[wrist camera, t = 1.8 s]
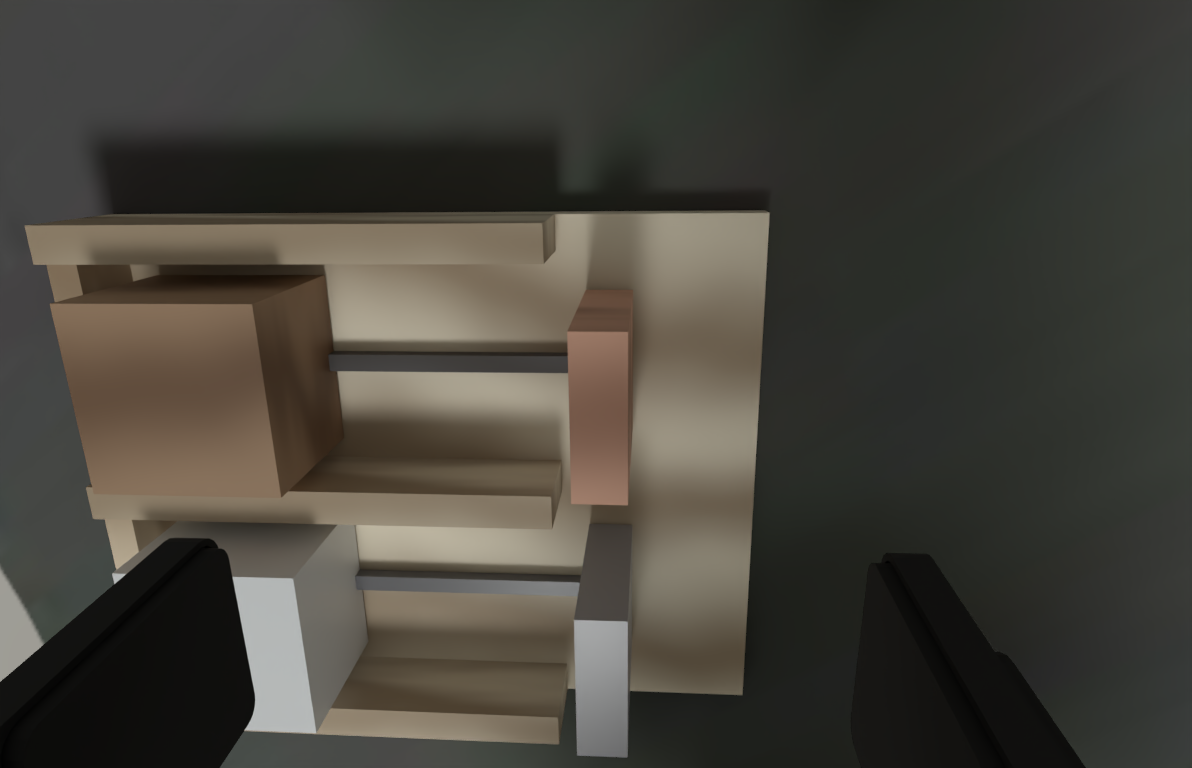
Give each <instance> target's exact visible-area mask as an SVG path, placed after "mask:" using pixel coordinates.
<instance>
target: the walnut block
mask: <svg viewBox="0 0 1192 768" xmlns="http://www.w3.org/2000/svg"><path fill="white" fill-rule="evenodd" d="M50 307H51V311H52V316H53V320H54V324H55V329H56V333H57V337H58V342H59V346H60V350H61V355H62V359H63V363H64V368H65V372H66V376H67V381H68V385H69V389H70V394H71V398H72V402H73V407H74V411H75V415H76V419H77V424H78V428H79V432H80V437H81V441H82V445H83V450H84V454H85V458H86V463H87V467H88V471H89V476H90V480H91V484H92V489H93V493H94V494H109V495H157V496H205V497H253V498H282V497H283V496H284V495H285V494H286V493H287V492H288V491H289V490H290V489H291V488H292V487H293V486H294V485H295V484H296V483H297V482H298V481H299V480H301V479H302V478H303V477H304V476H305V475H306V474H307V473H308V472H309V471H310V470H311V469H312V468H313V467H314V466H315V465H316V464H317V463H318V462H319V461H320V460H321V459H322V458H323V457H324V456H326V455H327V454H328V453H329V452H330V451H331V450H332V449H333V448H334V447H335V446H336V445H337V444H338V443H339V442H340V441H341V440H342V439H343V438H344V432H343V424H342V416H341V407H340V399H339V391H338V382H337V374H336V371H368V372H481V373H568V386H569V429H570V471H571V504H588V505H628V497H629V481H630V465H631V449H632V433H633V290H585V293H584V295H583V297H582V299H581V302H580V304H579V306H578V308H577V311H576V313H575V315H574V317H573V320H572V322H571V324H570V326H569V329H568V331H567V343H568V353H559V352H417V351H334V349H333V340H332V332H331V324H330V315H329V307H328V298H327V290H326V282H325V275H156V276H152V277H148V278H144V279H141V280H137V281H133V282H129V283H126V284H122V285H118V286H114V287H111V288H107V289H103V290H99V291H96V292H92V293H88V294H84V295H81V296H77V297H73V298H69V299H66V300H62V301H58V302H54V303H50Z"/></svg>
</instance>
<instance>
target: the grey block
mask: <svg viewBox="0 0 1192 768" xmlns="http://www.w3.org/2000/svg"><path fill="white" fill-rule="evenodd" d="M169 538H210V539H212V540H214V541H215V543H216V544H217V545H218V548H222V549H224V550H225V551H226V552H227V554H228V557H229V561H230V566H231V572H232V577H233V582H234V587H235V593H236V598H237V603H238V608H239V614H240V619H241V624H242V629H243V635H244V640H245V645H246V650H247V656H248V661H249V666H250V671H251V677H252V682H253V687H254V692H255V708H254V712H253V715H252V718H251V720H250V722H249V724H248V726H247V727H246V729H245V730H252V731H276V732H299V733H317V731H318V730H319V728H320V726H321V724H322V723H323V721H324V719H325V717H326V715H327V714H328V712H329V710H330V708H331V707H332V705H333V703H334V701H335V700H336V698H337V696H338V694H339V693H340V691H341V689H342V687H343V685H344V684H345V682H346V680H347V678H348V677H349V675H350V673H351V671H352V670H353V668H354V666H355V664H356V663H357V661H358V659H359V657H360V655H361V654H362V652H363V650H364V648H365V647H366V645H367V643H368V634H367V625H366V617H365V608H364V600H363V592H362V590H376V591H410V592H445V593H479V594H513V595H547V596H578V598H577V604H576V610H575V617H574V643H575V686H576V729H577V755H578V756H601V757H624V758H628V733H629V707H630V680H631V653H632V525H621V524H589V530H588V536H587V542H586V548H585V554H584V561H583V567H582V573H581V575H550V574H513V573H476V572H440V571H403V570H366V569H360V567H359V558H358V550H357V541H356V533H355V525H333V524H290V523H247V522H204V521H177V522H176V523H175V524H173V525H172V526H171V527H170V528H168V529H167V530H166V531H165V532H163V533H162V534H161V535H160V536H158V537H157V538H156V539H155V540H153V541H152V542H151V543H150V544H148V545H147V546H146V547H145V548H143V549H142V550H141V551H140V552H138V553H137V554H136V555H135V556H133V557H132V558H131V559H130V560H128V561H127V562H126V563H125V564H123V565H122V566H121V567H120V568H118V569H117V570H116V571H115V572H113V573H112V575H113V579H114V584H115V583H116V582H118V581H119V580H120V579H121V578H122V577H123V576H125V575H126V574H127V573H128V572H129V571H130V570H132V569H133V568H134V567H135V566H136V565H137V564H139V563H140V562H141V561H142V560H143V559H144V558H146V557H147V556H148V555H149V554H150V553H151V552H153V551H154V550H155V549H156V548H157V547H158V546H160V545H161V544H162V543H163V542H164V541H166V540H168V539H169Z"/></svg>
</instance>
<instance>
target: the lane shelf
mask: <svg viewBox="0 0 1192 768" xmlns="http://www.w3.org/2000/svg"><path fill="white" fill-rule="evenodd" d="M769 216H770V213H769V212H767V211H766V210H731V211H560V212H388V213H216V214H109V215H102V216H94V217H86V218H79V219H71V220H64V221H56V222H48V223H41V224H33V225H25V229H26V234H27V238H28V242H29V247H30V251H31V255H32V259H33V264H34V265H47V269H48V274H49V278H50V282H51V287H52V291H53V295H54V300H55V302H58V301H62V300H66V299H69V298H73V297H77V296H81V295H84V294H88V293H92V292H96V291H99V290H103V289H107V288H111V287H114V286H118V285H122V284H126V283H129V282H133V281H137V280H141V279H144V278H148V277H152V276H156V275H325V282H326V290H327V298H328V307H329V315H330V324H331V332H332V340H333V349H334V351H417V352H559V353H568V343H567V331H568V329H569V326H570V324H571V322H572V320H573V317H574V315H575V313H576V311H577V308H578V306H579V304H580V302H581V299H582V297H583V295H584V293H585V290H633V433H632V449H631V465H630V481H629V497H628V505H588V504H571V471H570V429H569V386H568V373H481V372H368V371H336V374H337V382H338V391H339V399H340V407H341V416H342V424H343V432H344V438H343V439H342V440H341V441H340V442H339V443H338V444H337V445H336V446H335V447H334V448H333V449H332V450H331V451H330V452H329V453H328V454H327V455H326V456H324V457H323V458H322V459H321V460H320V461H319V462H318V463H317V464H316V465H315V466H314V467H313V468H312V469H311V470H310V471H309V472H308V473H307V474H306V475H305V476H304V477H303V478H302V479H301V480H299V481H298V482H297V483H296V484H295V485H294V486H293V487H292V488H291V489H290V490H289V491H288V492H287V493H286V494H285V495H284V496H283V497H282V498H253V497H205V496H157V495H109V494H94V493H93V489H92V484H91V485H89V486H87V487H86V490H87V494H88V498H89V503H90V507H91V511H92V516H93V519H105V522H106V527H107V531H108V535H109V540H110V544H111V548H112V553H113V557H114V562H115V566H116V570H117V569H118V568H120V567H121V566H122V565H123V564H125V563H126V562H127V561H128V560H130V559H131V558H132V557H133V556H135V555H136V554H137V553H138V552H140V551H141V550H142V549H143V548H145V547H146V546H147V545H148V544H150V543H151V542H152V541H153V540H155V539H156V538H157V537H158V536H160V535H161V534H162V533H163V532H165V531H166V530H167V529H168V528H170V527H171V526H172V525H173V524H175V523H176V522H177V521H204V522H247V523H290V524H333V525H355V533H356V541H357V550H358V558H359V567H360V569H366V570H403V571H440V572H476V573H513V574H550V575H581V573H582V567H583V561H584V554H585V548H586V542H587V536H588V530H589V524H621V525H632V653H631V680H630V691H646V692H672V693H699V694H726V695H743V677H744V659H745V641H746V624H747V606H748V588H749V570H750V553H751V535H752V517H753V500H754V482H755V464H756V446H757V429H758V411H759V393H760V375H761V358H762V340H763V322H764V304H765V287H766V269H767V251H768V234H769ZM362 592H363V600H364V608H365V617H366V625H367V634H368V643H367V645H366V647H365V648H364V650H363V652H362V654H361V655H360V657H359V659H358V661H357V663H356V664H355V666H354V668H353V670H352V671H351V673H350V675H349V677H348V678H347V680H346V682H345V684H344V685H343V687H342V689H341V691H340V693H339V694H338V696H337V698H336V700H335V701H334V703H333V705H332V707H331V708H330V710H329V712H328V714H327V715H326V717H325V719H324V721H323V723H322V724H321V726H320V728H319V730H318V731H317V733H304V734H327V735H351V736H374V737H397V738H421V739H444V740H468V741H491V742H515V743H538V744H559V741H560V735H561V728H562V722H563V715H564V709H565V702H566V695H567V689H576V686H575V643H574V617H575V610H576V604H577V598H578V596H547V595H513V594H479V593H445V592H410V591H376V590H362ZM244 731H252V730H244ZM257 732H276V731H257ZM280 733H299V732H280Z"/></svg>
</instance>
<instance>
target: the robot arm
mask: <svg viewBox="0 0 1192 768" xmlns="http://www.w3.org/2000/svg"><path fill="white" fill-rule="evenodd" d="M254 708H255V692H254V687H253V682H252V677H251V671H250V666H249V661H248V656H247V650H246V645H245V640H244V635H243V629H242V624H241V619H240V614H239V608H238V603H237V598H236V593H235V587H234V582H233V577H232V572H231V566H230V561H229V557H228V554H227V552H226V551H225V550H224V549H222V548H218V545H217V544H216V543H215V541H214V540H212V539H210V538H169V539H168V540H166V541H164V542H163V543H162V544H161V545H160V546H158V547H157V548H156V549H155V550H154V551H153V552H151V553H150V554H149V555H148V556H147V557H146V558H144V559H143V560H142V561H141V562H140V563H139V564H137V565H136V566H135V567H134V568H133V569H132V570H130V571H129V572H128V573H127V574H126V575H125V576H123V577H122V578H121V579H120V580H119V581H118V582H116V583H115V584H114V585H113V586H112V587H111V588H109V589H108V590H107V591H106V592H105V593H104V594H102V595H101V596H100V597H99V598H98V599H97V600H95V601H94V602H93V603H92V604H91V605H90V606H88V607H87V608H86V609H85V610H84V611H83V612H81V613H80V614H79V615H78V616H77V617H76V618H74V619H73V620H72V621H71V622H70V623H69V624H67V625H66V626H65V627H64V628H63V629H62V630H60V631H59V632H58V633H57V634H56V635H55V636H53V637H52V638H51V639H50V640H49V641H48V642H46V643H45V644H44V645H43V646H42V647H41V648H40V649H39V650H37V651H36V652H35V653H34V654H33V655H31V656H30V657H29V658H28V659H27V660H26V661H25V662H23V663H22V664H21V665H20V666H19V667H17V668H16V669H15V670H14V671H13V672H11V673H10V674H9V675H8V676H7V677H6V678H4V679H3V680H2V681H1V682H0V768H220V766H221V765H222V763H223V762H224V760H225V759H226V757H227V756H228V754H229V753H230V751H231V750H232V748H233V747H234V745H235V744H236V742H237V741H238V739H239V738H240V736H241V735H242V733H243V732H244V730H245V729H246V727H247V726H248V724H249V722H250V720H251V718H252V715H253V712H254ZM851 732H852V739H853V744H854V747H855V750H856V753H857V756H858V759H859V762H860V765H861V768H1085V766H1084V765H1083V763H1082V762H1081V760H1080V759H1079V757H1078V756H1077V755H1076V753H1075V752H1074V750H1073V749H1072V747H1071V746H1070V744H1069V743H1068V741H1067V740H1066V739H1065V737H1064V736H1063V734H1062V733H1061V731H1060V730H1059V728H1058V727H1057V725H1056V724H1055V723H1054V721H1053V720H1052V718H1051V717H1050V715H1049V714H1048V712H1047V711H1046V709H1045V708H1044V707H1043V705H1042V704H1041V702H1040V701H1039V699H1038V698H1037V696H1036V695H1035V693H1034V692H1033V690H1032V689H1031V688H1030V686H1029V685H1028V683H1027V682H1026V680H1025V679H1024V677H1023V676H1022V674H1021V673H1020V672H1019V670H1018V669H1017V667H1016V666H1015V664H1014V663H1013V662H1012V661H1011V660H1010V659H1009V657H1008V656H1007V655H1005V654H1003V653H1000V652H994V650H993V649H992V647H991V646H990V644H989V643H988V641H987V640H986V638H985V637H984V635H983V634H982V632H981V631H980V629H979V628H978V626H977V625H976V623H975V622H974V620H973V619H972V617H971V616H970V614H969V613H968V611H967V610H966V608H965V607H964V605H963V604H962V602H961V601H960V599H959V598H958V596H957V595H956V593H955V592H954V590H953V589H952V587H951V586H950V584H949V583H948V581H947V580H946V578H945V577H944V575H943V574H942V572H941V571H940V569H939V568H938V566H937V565H936V563H935V562H934V560H933V559H932V558H931V556H930V555H928V554H907V553H886V554H885V555H884V556H883V558H882V561H881V563H872V564H870V566H869V569H868V575H867V584H866V592H865V601H864V609H863V618H862V626H861V635H860V644H859V652H858V661H857V669H856V678H855V686H854V695H853V703H852V712H851Z"/></svg>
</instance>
